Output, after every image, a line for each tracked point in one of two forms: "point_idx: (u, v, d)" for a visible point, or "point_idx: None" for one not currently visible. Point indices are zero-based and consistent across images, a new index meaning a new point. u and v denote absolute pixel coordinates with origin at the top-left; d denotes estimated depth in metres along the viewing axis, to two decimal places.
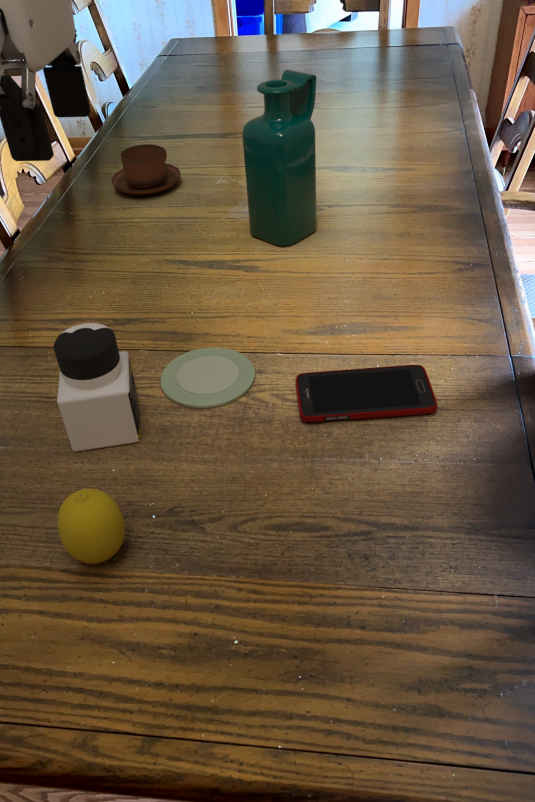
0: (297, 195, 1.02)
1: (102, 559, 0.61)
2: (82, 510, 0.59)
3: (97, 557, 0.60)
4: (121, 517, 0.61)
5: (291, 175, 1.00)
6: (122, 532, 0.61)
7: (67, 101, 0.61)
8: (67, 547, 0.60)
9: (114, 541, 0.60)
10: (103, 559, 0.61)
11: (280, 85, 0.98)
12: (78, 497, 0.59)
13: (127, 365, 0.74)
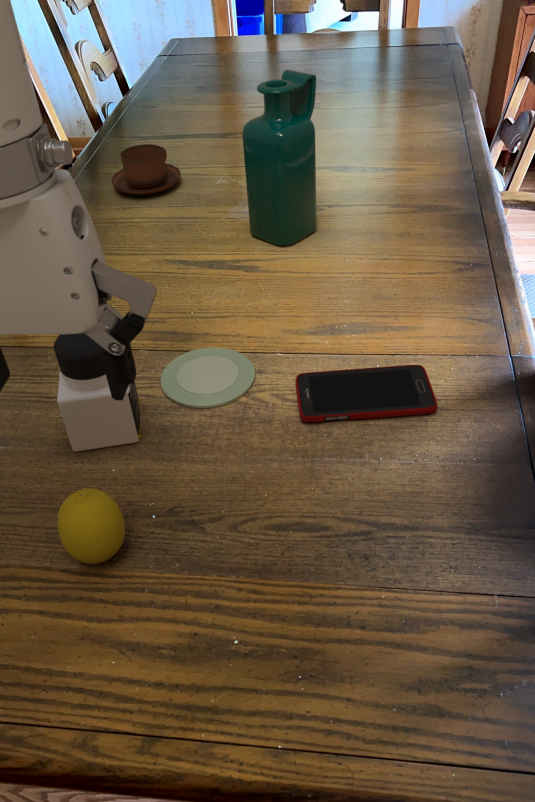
0: (297, 195, 1.02)
1: (102, 559, 0.61)
2: (82, 510, 0.59)
3: (97, 557, 0.60)
4: (121, 517, 0.61)
5: (291, 175, 1.00)
6: (122, 532, 0.61)
7: None
8: (67, 547, 0.60)
9: (114, 541, 0.60)
10: (103, 559, 0.61)
11: (280, 85, 0.98)
12: (78, 497, 0.59)
13: None
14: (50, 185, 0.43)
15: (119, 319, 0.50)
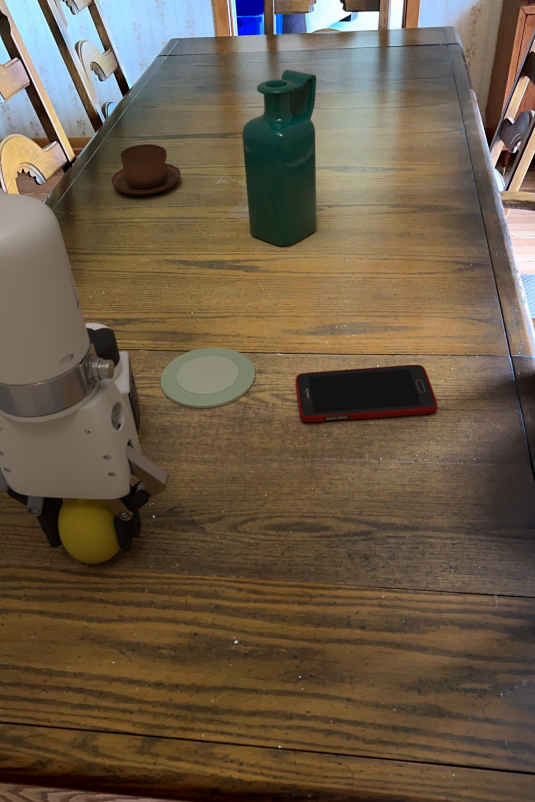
0: (297, 195, 1.02)
1: (102, 559, 0.61)
2: (83, 510, 0.59)
3: (97, 557, 0.60)
4: None
5: (291, 175, 1.00)
6: None
7: None
8: (67, 547, 0.60)
9: (115, 541, 0.60)
10: (103, 559, 0.61)
11: (280, 85, 0.98)
12: None
13: (127, 365, 0.74)
14: (95, 392, 0.51)
15: None
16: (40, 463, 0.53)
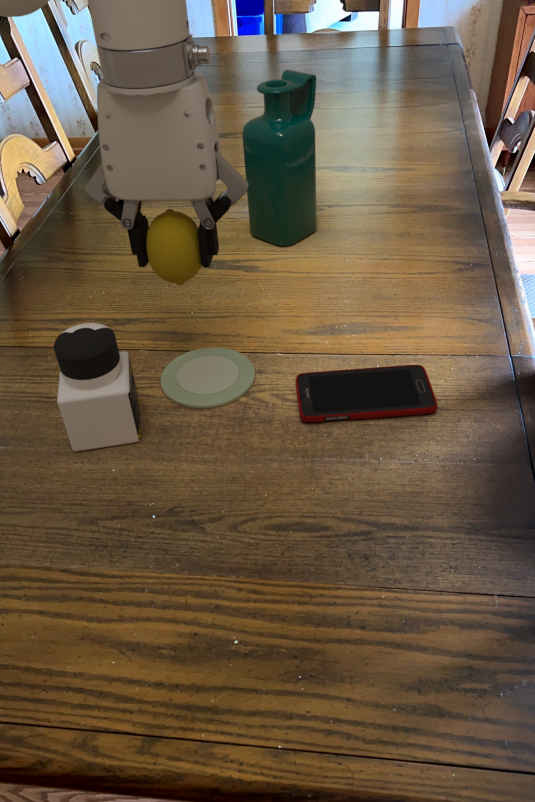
0: (297, 195, 1.02)
1: (185, 274, 0.69)
2: (170, 221, 0.66)
3: (181, 270, 0.68)
4: None
5: (291, 175, 1.00)
6: None
7: None
8: (155, 260, 0.68)
9: (197, 256, 0.68)
10: (186, 275, 0.69)
11: (280, 85, 0.98)
12: (166, 211, 0.67)
13: (127, 365, 0.74)
14: (192, 80, 0.59)
15: (210, 203, 0.67)
16: (141, 155, 0.61)
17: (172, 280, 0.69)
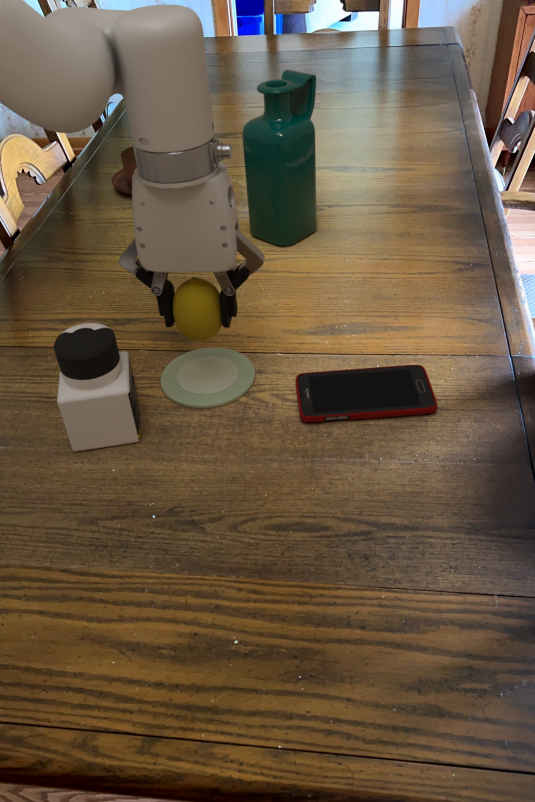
0: (297, 195, 1.02)
1: (208, 334, 0.76)
2: (195, 288, 0.74)
3: (204, 331, 0.76)
4: None
5: (291, 175, 1.00)
6: None
7: None
8: (181, 322, 0.76)
9: (218, 318, 0.76)
10: (208, 334, 0.77)
11: (280, 85, 0.98)
12: (191, 279, 0.75)
13: (127, 365, 0.74)
14: (216, 172, 0.67)
15: (230, 272, 0.75)
16: (170, 235, 0.69)
17: (196, 339, 0.77)
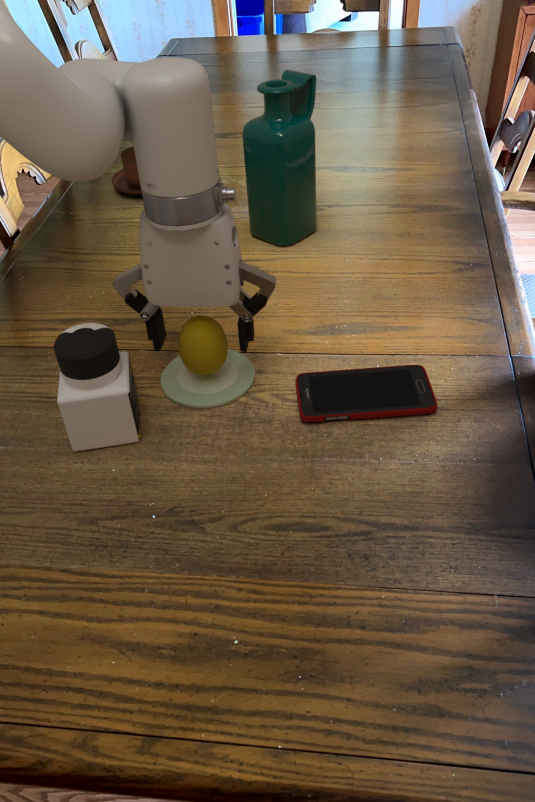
0: (297, 195, 1.02)
1: (212, 369, 0.80)
2: (200, 326, 0.77)
3: (209, 366, 0.79)
4: (226, 338, 0.80)
5: (291, 175, 1.00)
6: (227, 350, 0.80)
7: None
8: (186, 358, 0.79)
9: (222, 354, 0.79)
10: (213, 369, 0.80)
11: (280, 85, 0.98)
12: (196, 317, 0.78)
13: (127, 365, 0.74)
14: (221, 214, 0.69)
15: (248, 298, 0.77)
16: (176, 273, 0.72)
17: (200, 373, 0.80)
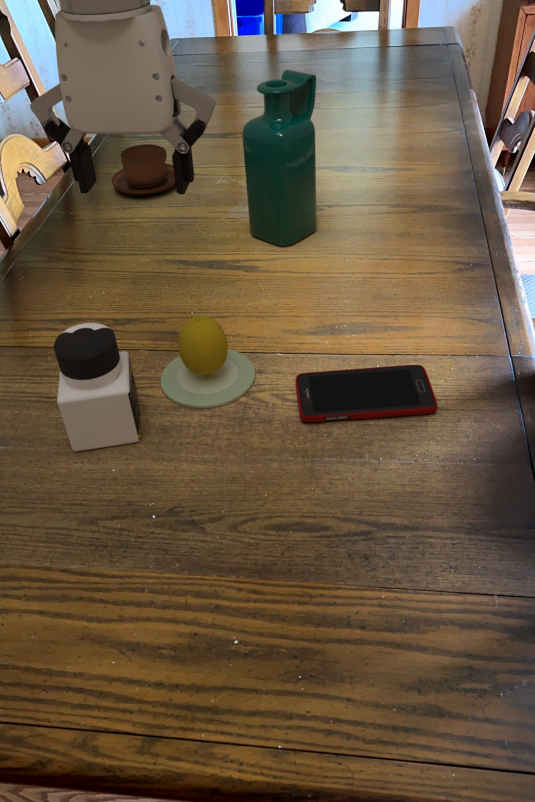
0: (297, 195, 1.02)
1: (212, 369, 0.80)
2: (200, 326, 0.77)
3: (209, 366, 0.79)
4: (226, 338, 0.80)
5: (291, 175, 1.00)
6: (227, 350, 0.80)
7: None
8: (186, 358, 0.79)
9: (222, 354, 0.79)
10: (213, 369, 0.80)
11: (280, 85, 0.98)
12: (196, 317, 0.78)
13: (127, 365, 0.74)
14: (148, 10, 0.60)
15: (185, 129, 0.67)
16: (98, 85, 0.62)
17: (200, 373, 0.80)
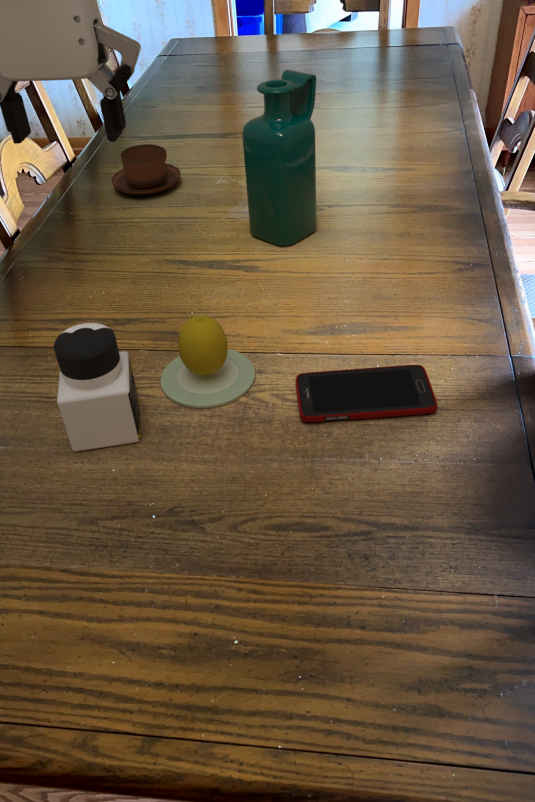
0: (297, 195, 1.02)
1: (212, 369, 0.80)
2: (200, 326, 0.77)
3: (209, 366, 0.79)
4: (226, 338, 0.80)
5: (291, 175, 1.00)
6: (227, 350, 0.80)
7: None
8: (186, 358, 0.79)
9: (222, 354, 0.79)
10: (213, 369, 0.80)
11: (280, 85, 0.98)
12: (196, 317, 0.78)
13: (127, 365, 0.74)
14: None
15: (113, 75, 0.68)
16: (21, 29, 0.63)
17: (200, 373, 0.80)
